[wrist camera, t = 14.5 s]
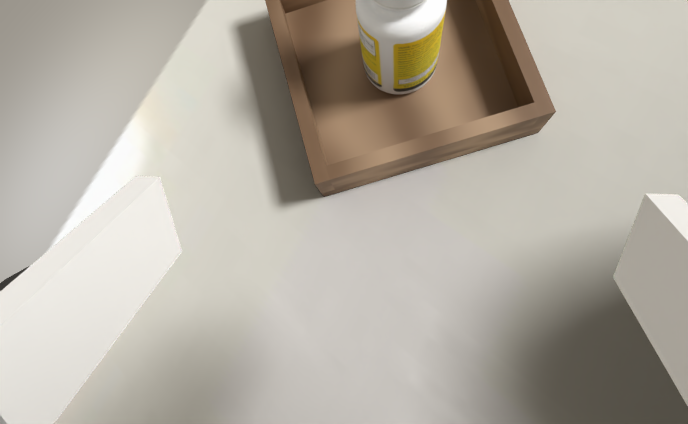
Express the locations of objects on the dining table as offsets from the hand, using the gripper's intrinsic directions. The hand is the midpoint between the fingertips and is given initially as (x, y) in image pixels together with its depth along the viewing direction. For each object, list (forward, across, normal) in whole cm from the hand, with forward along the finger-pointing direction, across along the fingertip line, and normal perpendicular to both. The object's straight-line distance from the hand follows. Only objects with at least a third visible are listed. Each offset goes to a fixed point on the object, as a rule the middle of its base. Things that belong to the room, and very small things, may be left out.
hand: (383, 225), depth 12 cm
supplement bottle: (+23, 0, -1) cm, 23 cm away
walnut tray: (+24, 0, -2) cm, 24 cm away
